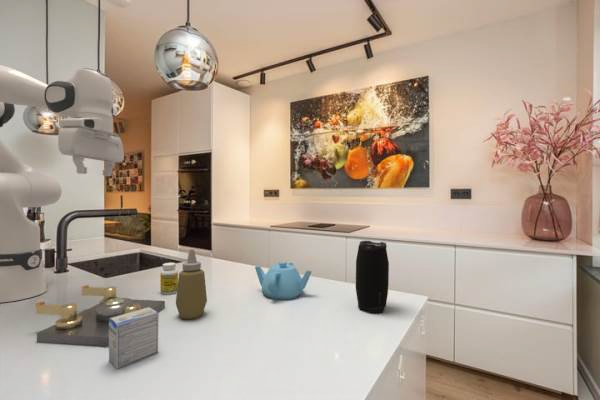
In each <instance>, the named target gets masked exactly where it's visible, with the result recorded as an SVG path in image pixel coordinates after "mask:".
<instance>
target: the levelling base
mask: <svg viewBox="0 0 600 400" xmlns="http://www.w3.org/2000/svg"><path fill="white" fill-rule="evenodd" d="M148 307H149V308H151V309H153V310H155V311H156V312H158V313H160V312H161V311H162V310H164V309H165V308H166V300H151V299H133V298H128V297H119V298H116V299H111V300H107V301H103V302H101V303H99V302H98V303H97V304H96V305H93V306H91V307H89V308H87V309H85V310H82V311H80V312H77V316H82V323H81V324H79V325H77V326H75V327H71V328H67V329H57V328H55V324H53V325H51V326H49V327H46V328H44V329H43V330H40V331H38V332H36V343H47V344H62V345H74V346H75V345H76V346H77V345H78V346H90V347H91V346H94V347H108V348H109V319H110V318H113V317H116V316H119V315H123V314H126V313H130V312H133V311H137V310H141V309H144V308H148Z"/></svg>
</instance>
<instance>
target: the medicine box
mask: <svg viewBox="0 0 600 400" xmlns="http://www.w3.org/2000/svg"><path fill="white" fill-rule="evenodd" d="M159 313H160V312H156V311H155V310H153V309H151V308H149V307H148V308H144V309H141V310H137V311H133V312H130V313H126V314H123V315H119V316H116V317H113V318H110V319H109V347H108V360H109V361H110V363H111V365H113V366H114V368H115V369H117V370H118V369H120V368H122V367H125V366H127V365H129V364H132V363H134V362H137V361H140V360H141V359H145V358H147V357H149V356H152V355H154V354H156V353H158V352H159V315H160V314H159Z"/></svg>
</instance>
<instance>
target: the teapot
mask: <svg viewBox="0 0 600 400" xmlns="http://www.w3.org/2000/svg"><path fill="white" fill-rule="evenodd" d="M261 267H262V266H260V265H258V266H257V265H256V266H254V269H255V273H256V275H257V278H258V281H259V284H260V287H261V291H262V293H263V294H264V295H265V296H266V297H267V298H269V299H273V300H279V301H280V300H282V301H283V300H292V299H296V298H298V297H299V296H300V295H301V293H302V292H303V290H304V289H305V288H306V286H307V284H308V282H309V279H310V277H311V274H312V273H313V271H312V270H307V269H306V271H305V273H304V274H303V276H301V275H300V273H299V271H298V270H297V268H296V266H294V262H287V261H279V262H278V264H275V265H271V266H270V267H269V268H268V270H267V272H266V273H265V271H263V269H262V268H261Z"/></svg>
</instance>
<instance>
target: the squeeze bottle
mask: <svg viewBox="0 0 600 400" xmlns="http://www.w3.org/2000/svg"><path fill="white" fill-rule="evenodd" d="M201 265H202V263H201V261H197V257H196V252H195V249H194V248H191V249H189V252H188V254H187V259H186V261H185V262H182V270H181V271H180V272H178V287H177V292H176V296H175V297H176V298H175V306H176V308H177V312H178V314H179V317H180V318H181V319H185V320H190V319H191V320H192V319H196V318H200V317H202V315H203V314H204V311H205V309H206V305H207V302H208V297H207V288H206V287H207V286H206V277H205V275H206V274H205V271H204V270H203V269H202V266H201Z"/></svg>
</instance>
